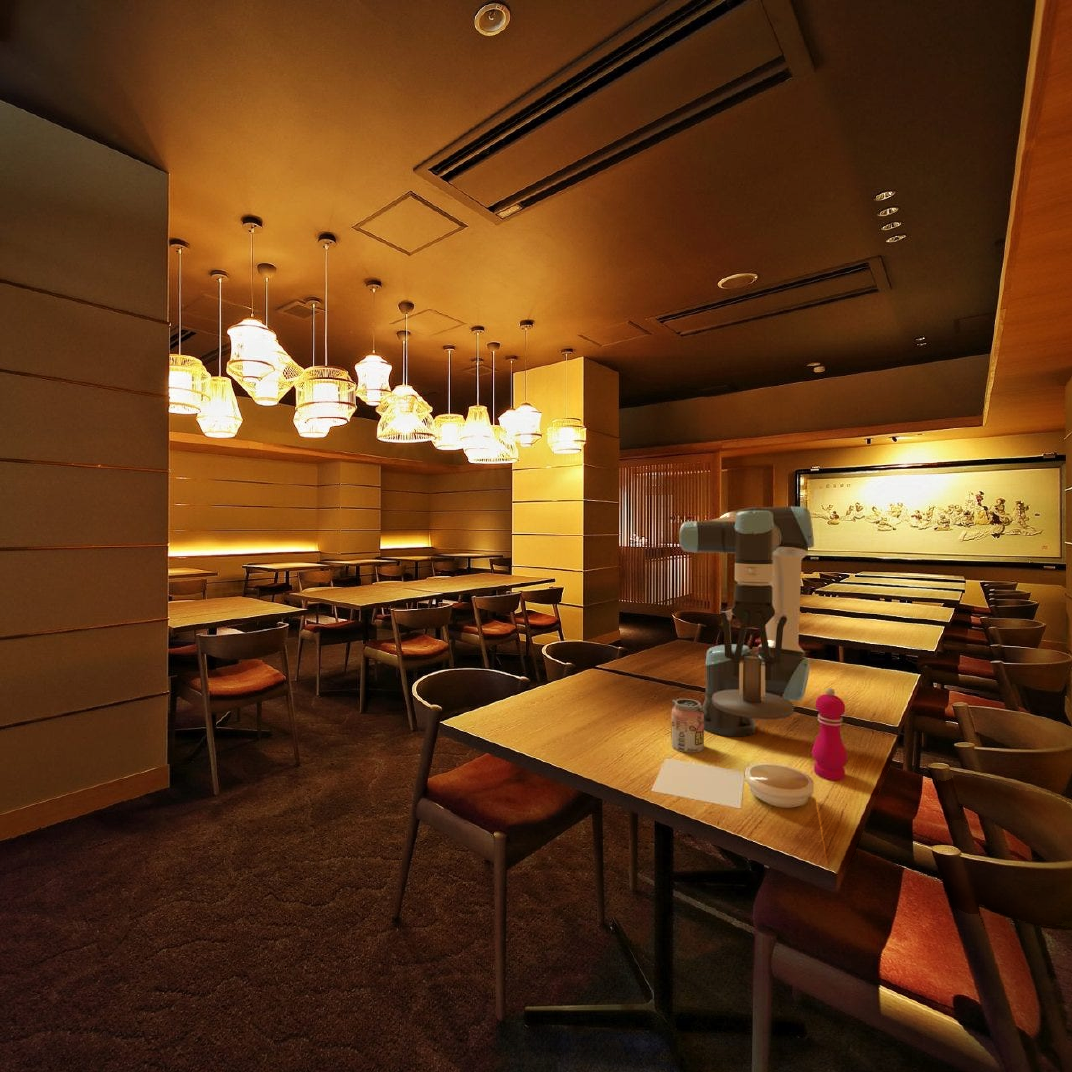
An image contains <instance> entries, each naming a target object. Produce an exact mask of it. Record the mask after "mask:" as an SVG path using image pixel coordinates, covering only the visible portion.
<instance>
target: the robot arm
mask: <svg viewBox="0 0 1072 1072" xmlns="http://www.w3.org/2000/svg"><path fill="white" fill-rule="evenodd" d="M678 538H679V545H680V549H681V550H682V551H683V552H685V553H686V552H687V553H693V554H697V553H715V554H716V553H718V554H719V553H720V554H721V553H722V554H724V553H725V554H734V581H735V582H736V583H735V585H734V592H733V593H734V595H733V596H734V599H733V600H734V602H733V605H732V607H731V609H728V610H722V611H721V612H720V613H719V616H720V620H721V622H722V625H723V626H722V627H723V643H724V644H720V645H716V646H712V647H710V648H708V649H707V651H706V656H705V657H706V659H705V662H704V665H705V699H704V701H703V705H702V706H703V708H704V709H705V710H706V711H707V713H706V715H704V731H707V732H710V733H712V734H716V735H720V736H728V737H744V736H745V737H746V736H750V735H752V734H754V733H755V732H756V721H755V718H747V717H742V716H737V715H733V714H730V713H727V712H724V711H722V710H720V709H718V708H716V707H715V706H714V705H713V703H712V696H713V694H714V693H716V692H719V691H723V690H735V689H736V690H739V694H743V657H746V656H752V657H759V658H761V659H762V661H761V697H765V692H766V693H770V694H774V695H777V696H780V697H783V698H785V699H787V700H789V701H790V702H799V701H801V700H803V698H804V696H805V694H806V690H807V686H808V681H809V676H810V668H811V667H810V666H811V661H810V659H809V658H807V657H805V651H804V649H803V648H802V647H801V646H800V645H799V639H800V638H799V637H800V636H799V635H800V634H799V633H800V609H801V607H800V606H801V604H800V603H801V584H802V583H801V581H802V580H801V579H802V560H803V559H804V558H805V557H806V556H807V555H808V553H809V549H811V548H814V547H815V544H814V543H815V541H814V540H815V537H814V529H813V522H812V516H811V512H810V510H809V509H808V508H807V507H804V506H792V505H790V506H761V507H760V506H755V507H754V506H751V507H745V508H742V509H741V508H740V509H736V510H733V511H732V510H731V511H730V512H726V513H724V514H723V515H721V516H720V517H719V518H714V519H708V520H703V521H701V520H699V521H698V520H697V521H696V520H693V521H692V520H691V521H684V522H683V523H682V524H681V525H680V528H679V537H678ZM733 616H734V617H735V618H736V620H737V621H738V622H739V624H740V625H739V626H740V627H739V631H738V637H737V641H736V644H735V643H733V644H732V631H731V629H732V628H731V627H732V626H731V625H732V624H731V621H732V619H733ZM748 628H754V629H758V634H759V638H760V639H759V640H760V644H759V645H758V646H757V652H752V651H751V649H750V647H749V646H748V645H745V638H746V636H747V635H746V633H747V629H748Z"/></svg>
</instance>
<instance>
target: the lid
mask: <svg viewBox="0 0 1072 1072" xmlns="http://www.w3.org/2000/svg"><path fill="white" fill-rule="evenodd" d="M761 661H762V659H761V658H759V657H752V656H746V657H743V694H739V690H736V689H735V690H723V691H719V692H716V693H714V694H713V696H712V703H713V705H714V706H715V707H716V708H718V709H720V710H722V711H724V712H727V713H730V714H733V715H737V716H742V717H747V718H754V720H755V719H758V720H778V719H779V720H780V719H784V718H785V719H786V718H788V717H791V716H792V715H793V714H794V712H795V711H794V710H795V709H794V707H795V706H794V703H793V701H790V700H787V699H785V698H783V697H780V696H777V695H774V694H770V693H766V692H765V697H761Z"/></svg>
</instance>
